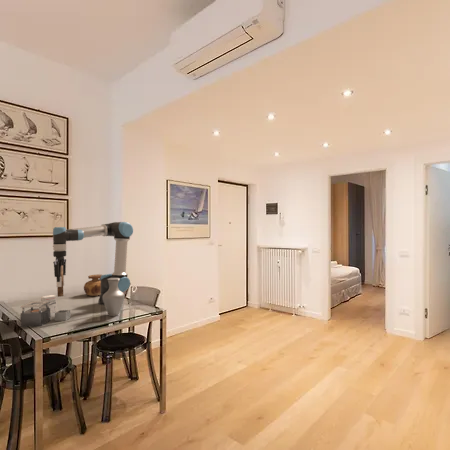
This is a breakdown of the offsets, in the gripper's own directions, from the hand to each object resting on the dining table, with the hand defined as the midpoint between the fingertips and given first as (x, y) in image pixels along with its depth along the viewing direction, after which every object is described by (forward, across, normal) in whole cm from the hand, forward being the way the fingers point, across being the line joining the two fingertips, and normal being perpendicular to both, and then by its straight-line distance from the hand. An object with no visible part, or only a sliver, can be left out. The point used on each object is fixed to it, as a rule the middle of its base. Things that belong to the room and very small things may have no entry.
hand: (60, 285), depth 207 cm
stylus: (+7, 0, 0) cm, 7 cm away
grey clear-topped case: (+22, +8, -12) cm, 26 cm away
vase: (+23, -8, +32) cm, 40 cm away
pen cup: (+22, 0, +1) cm, 22 cm away
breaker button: (+19, +8, -12) cm, 24 cm away
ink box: (+22, -17, -16) cm, 32 cm away
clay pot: (+23, -74, -3) cm, 78 cm away
